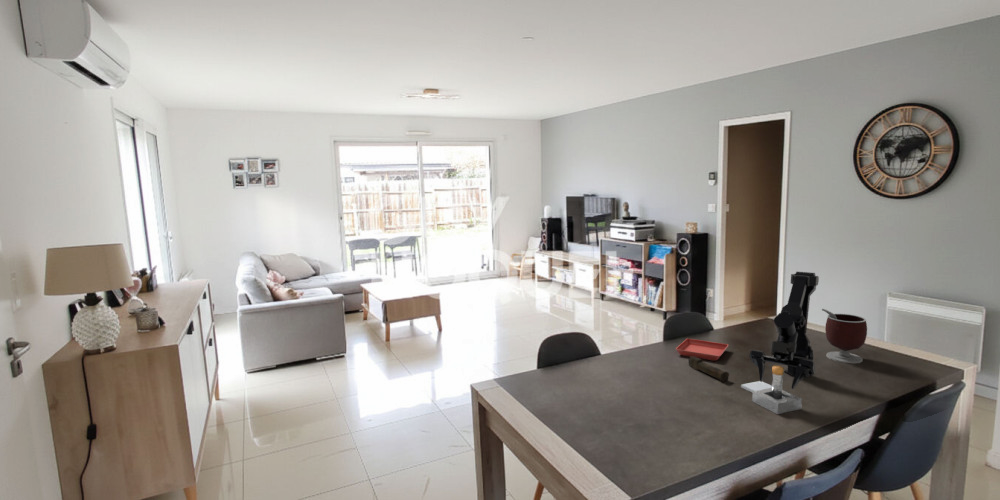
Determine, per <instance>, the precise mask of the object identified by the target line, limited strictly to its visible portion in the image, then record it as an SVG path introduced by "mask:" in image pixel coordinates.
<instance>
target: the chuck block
mask: <svg viewBox="0 0 1000 500" xmlns="http://www.w3.org/2000/svg"><path fill="white" fill-rule="evenodd" d="M771 396H772V388H768V389H763V390H758V391H753V393H752V400H751V402H753V403H754V404H756V405H758V406H760V407H762V408H764V409H766V410H769V411H770V412H772V413H774V414H776V415H779V414H784V413H788V412H789V413H790V412H792V411H798V410H801V409H802V406H803V405H802V404H803V403H802V400H803V398H802V397H799V396H798V395H795V394H792V393H790V392H788V391H786V390H783V389H782V399H779V400H777V399H775V398H772V397H771Z"/></svg>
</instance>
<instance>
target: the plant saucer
mask: <svg viewBox="0 0 1000 500" xmlns="http://www.w3.org/2000/svg"><path fill="white" fill-rule="evenodd" d="M729 346H730V345H729V344H728V343H722V342H721V343H720V342H714V341H708V340H700V339H694V338H686V339H685V340H684V341H683V342H681V343H680V344H679V345H678V346H677V347H676V348H675V351H677V353H678V354H680V355H681V356H684V357H689V358H690V357H691V356H694V357H697V358H699V359H701V360H708V361H714V362H715V361H718V360H719V359H720V357H721V356H722V355H723V354H724V352H726V350H727V349H728V347H729Z"/></svg>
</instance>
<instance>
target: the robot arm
mask: <svg viewBox="0 0 1000 500" xmlns="http://www.w3.org/2000/svg"><path fill="white" fill-rule="evenodd" d="M819 278H820V277H819V276H818V275H816V273H815V272H807V271H795V273H792V274H790V284H791V289H790V292H789V295H788V296H789V297H788V300H787V304H785V305H784V306H783V307H782V308H781V310H780V312H779V313H778V314H777V315H776V316H775V317H774V318H773V323H774V327H775V330H776V333H777V336H776V340H772V341H771V345H770V351H771V353H770V354H771V355H772V356H771V355H766V354H765V351H764V350H757V349H752V350H750V351H749V358H750V359H749V360H750V361H751V364H754V366H756V367H758V374H759V375H758V376H759V381H760V382H763V381H764V375H765V368H766V366H765V364H766V362H768V363H773V364H777V365H781V366H782V365H784V366H787V370H783V373H785V374H788V375H791V376H793V379H792V383H791V389H792V390H794V389H795V388H796V387H797V386H798V384H799V383H800V382H801V381H802V380H803V379H804V378H805V377H810V376H815V373H816V366H815V365H816V364H815V361H814V350H813V349H812V346H811V341H810V339H809V337H808V335H807V329H808V319H809V318H808V317H809V310H810V300H811V299H810V298H811V296H812V295H813V294H814V292H815V291H816V290H817V286H818V285H819V280H820V279H819Z"/></svg>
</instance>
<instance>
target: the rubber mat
mask: <svg viewBox="0 0 1000 500" xmlns="http://www.w3.org/2000/svg"><path fill="white" fill-rule="evenodd" d="M740 388H741V389H743V390H746V391H748V392H751V393H752V394H753V391H758V390H763V389H768V388H772V384H769V383H766V382H764V381H762V382H760V380H758V381H753V382H748V383H743V384H740Z"/></svg>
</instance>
